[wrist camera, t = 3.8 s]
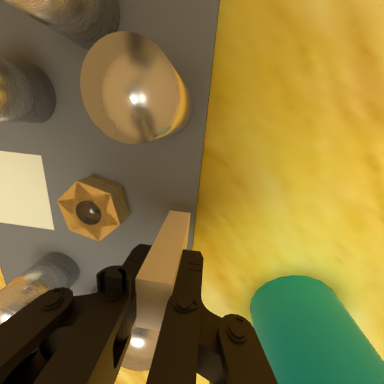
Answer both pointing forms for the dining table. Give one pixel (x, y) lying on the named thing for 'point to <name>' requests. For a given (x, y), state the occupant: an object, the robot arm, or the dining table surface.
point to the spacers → (94, 119)
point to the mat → (99, 142)
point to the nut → (94, 207)
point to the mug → (312, 335)
